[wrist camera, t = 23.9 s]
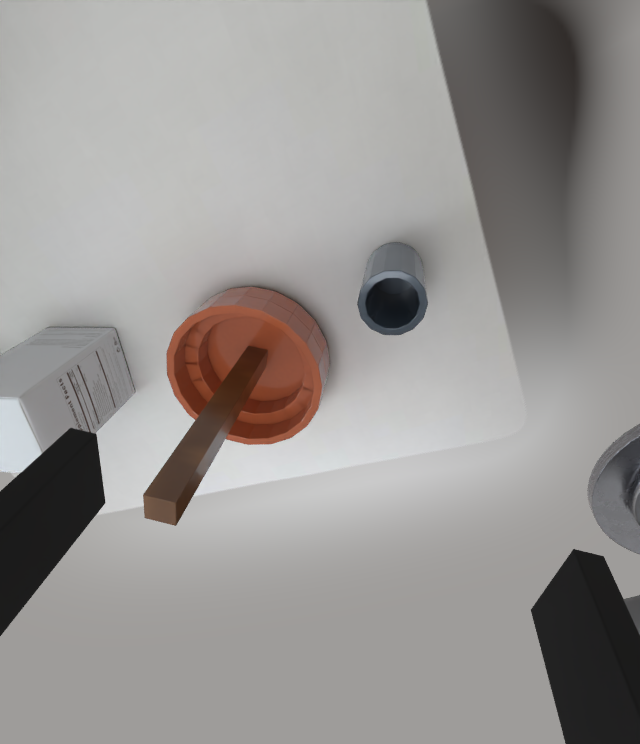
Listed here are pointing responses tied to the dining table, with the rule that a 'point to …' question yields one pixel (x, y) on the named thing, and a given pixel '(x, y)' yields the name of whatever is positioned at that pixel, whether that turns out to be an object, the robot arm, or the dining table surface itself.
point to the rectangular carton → (58, 389)
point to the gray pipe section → (393, 290)
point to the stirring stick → (203, 441)
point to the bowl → (228, 342)
